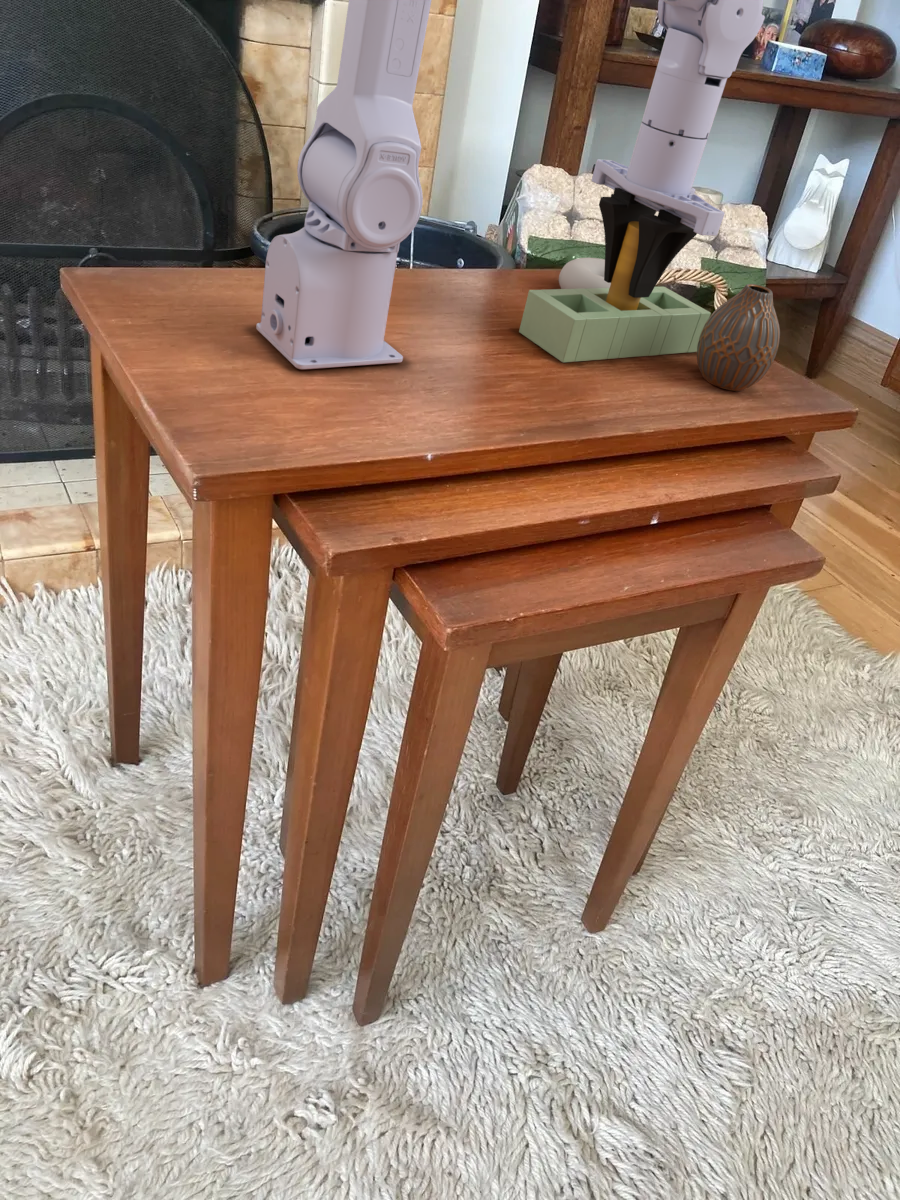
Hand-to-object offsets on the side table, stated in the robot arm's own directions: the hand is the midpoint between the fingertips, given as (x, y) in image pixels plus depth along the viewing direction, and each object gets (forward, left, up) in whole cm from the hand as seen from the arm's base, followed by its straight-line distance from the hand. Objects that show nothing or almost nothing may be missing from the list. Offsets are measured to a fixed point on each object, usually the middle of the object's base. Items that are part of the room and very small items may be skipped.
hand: (626, 288), depth 89 cm
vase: (+6, -10, -5) cm, 12 cm away
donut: (+7, +9, -5) cm, 13 cm away
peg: (0, 0, -2) cm, 2 cm away
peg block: (0, 0, -5) cm, 5 cm away
